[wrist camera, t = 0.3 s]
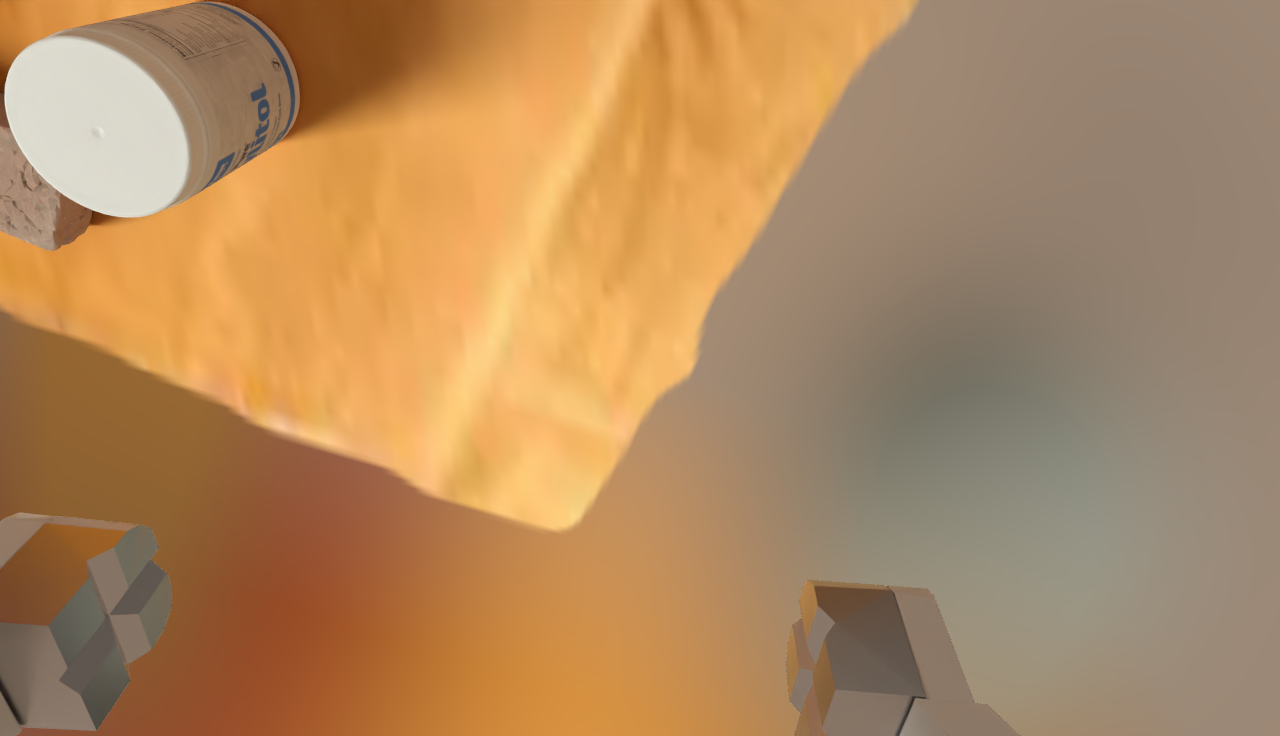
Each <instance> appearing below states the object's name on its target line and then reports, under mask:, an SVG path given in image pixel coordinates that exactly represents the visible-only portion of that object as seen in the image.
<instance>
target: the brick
mask: <svg viewBox="0 0 1280 736" xmlns="http://www.w3.org/2000/svg"><path fill="white" fill-rule="evenodd" d="M92 211H93V210H91V209H89V208H86V207H84V206H82V205H80V204H78V203H76V202H75V201H73V200H71V199H70V198H68V197H66V196H65V195H63V194H62V193H61V192H59V191H58V190H57V189H55V188H54V187H53V186H52V185H51V184H49V183H48V182H47V181H46V180H45V179H44V178H43V177H42V176H41V175H40V174H39V173H38V172H37V171H36V169H35V168H34V167H33V166H32V165H31V164H30V162H29V161H28V159H27V158H26V156H25V155H24V154H23V152H22V150H21V149H20V147H19V145H18V143H17V141H16V139H15V137H14V135H13V133H12V131H11V128H10V125H9V122H8V118H7V114H6V109H5V93H2V92H0V231H2V232H5V233H7V234H8V235H10V236H14V237H16V238H18V239H21V240H23V241H26V242H28V243H31V244H33V245H36V246H38V247H41V248H43V249H45V250H51V251H55V250H57V249H59V248H60V247H61V245H66V244H70V243H71V242H73V241H74V240H75V239H76V238H77V237H78V236H79V235H81V234H83V233H85V231H86V229H87V228H88V226H89V224H90V221H91V217H92Z"/></svg>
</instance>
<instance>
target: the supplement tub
mask: <svg viewBox="0 0 1280 736" xmlns="http://www.w3.org/2000/svg"><path fill="white" fill-rule="evenodd" d="M299 105H300V89H299V82H298V77H297V73H296V70H295V67H294V64H293V62H292V60H291V57H290V55H289V53H288V51H287V50H286V48H285V47H284V45H283V44H282V42H281V41H280V40H279V39H278V37H277V36H276V35H275V34H274V33H273V32H272V31H271V30H270V29H269V28H268V27H267V26H266V25H265V24H264V23H263V22H261V21H260V20H259V19H257V18H256V17H255V16H253V15H251V14H250V13H248V12H246V11H244V10H242V9H240V8H237V7H235V6H232V5H229V4H225V3H221V2H213V1H204V2H195V3H190V4H185V5H181V6H176V7H171V8H167V9H162V10H157V11H152V12H147V13H142V14H137V15H132V16H128V17H123V18H118V19H113V20H109V21H104V22H99V23H94V24H89V25H85V26H81V27H77V28H72V29H67V30H63V31H60V32H57V33H54V34H52V35H50V36H48V37H47V38H44V39H41V40H39V41H36V42H34V43H33V44H31V45H29V46H28V47H26V48H25V49H24V50H23V51H22V52H21V53H20V54H19V55H18V56H17V58H16V59H15V60H14V62H13V64H12V66H11V67H10V69H9V72H8V75H7V79H6V83H5V109H6V114H7V118H8V122H9V125H10V128H11V131H12V133H13V135H14V137H15V139H16V141H17V143H18V145H19V147H20V149H21V150H22V152H23V154H24V155H25V156H26V158H27V159H28V161H29V162H30V164H31V165H32V166H33V167H34V168H35V169H36V171H37V172H38V173H39V174H40V175H41V176H42V177H43V178H44V179H45V180H46V181H47V182H48V183H49V184H51V185H52V186H53V187H54V188H55V189H57V190H58V191H59V192H61V193H62V194H63V195H65V196H66V197H68V198H70V199H71V200H73V201H75V202H76V203H78V204H80V205H82V206H84V207H86V208H89V209H91V210H93V211H96V212H100V213H103V214H107V215H111V216H116V217H142V216H148V215H152V214H155V213H158V212H160V211H162V210H164V209H167V208H170V207H172V206H175V205H178V204H180V203H182V202H184V201H186V200H187V199H189V198H191V197H192V196H194V195H196V194H197V193H199V192H201V191H202V190H204V189H205V188H207V187H209V186H210V185H212V184H213V183H215V182H217V181H218V180H220V179H222V178H223V177H225V176H226V175H228V174H229V173H231V172H233V171H234V170H236V169H237V168H239V167H241V166H242V165H244V164H245V163H247V162H248V161H250V160H252V159H253V158H255V157H256V156H258V155H260V154H261V153H263V152H265V151H266V150H268V149H269V148H271V147H272V146H274V145H275V144H276V143H278V142H279V141H281V140H282V139H283V138H284V137H285V136H286V135H287V134H288V132H289V131H290V129H291V128H292V126H293V125H294V122H295V120H296V117H297V115H298V111H299Z"/></svg>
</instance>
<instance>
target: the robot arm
mask: <svg viewBox="0 0 1280 736" xmlns="http://www.w3.org/2000/svg"><path fill="white" fill-rule="evenodd" d="M158 548H159V547H158V544H157V542H156V539H155V537H154V534H153V532H152V529H151V528H149V527H146V526H142V525H136V524H127V523H118V522H109V521H100V520H90V519H81V518H72V517H63V516H60V517H57V516H47V515H37V514H28V513H17V514H15V515H12V516H9V517H7V518H4V519H3V520H2V521H0V736H16V735H17V734H18V733H20V732H21V730H22V729H21V728H20V727H31V728H32V727H33V728H51V729H71V730H91V731H97V729H98V728H99V727H100V725H101V724H102V722H103V721H104V719H105V718H106V716H107V715H108V713H109V712H110V710H111V709H112V707H113V705H114V704H115V703H116V701H117V700H118V698H119V697H120V695H121V694H122V693H123V691H124V689H125V688H126V686H127V685H128V684H129V682H130V676H129V669H128V664H129V663H131V662H132V661H134V660H135V659H137V658H138V657H140V656H142V655H143V654H145V653H146V652H148V651H150V650H151V649H152V648H153V646H154V645H155V643H156V641H157V640H158V638H159V637H160V635H161V633H162V632H163V630H164V628H165V625H166V622H167V619H168V616H169V613H170V609H171V606H172V588H171V584H170V581H169V577H168V574H167V573H166V572H165V571H164V570H162V569H161V568H160V567H159V566H158V565H157V564H155V563H154V562H153V561H152V560H151V558H152V557H153V555H154V554H155V552H156V551H157V550H158ZM799 604H800V609H801V615H802V618H801V619H800V620H798V621H797V622H796V623H794V624H793V625H792V629H791V633H790V637H789V641H788V648H787V649H788V650H787V661H786V669H787V670H786V671H787V684H788V692H789V700H790V702H791V703H792V704H793V705H794V707H795V708H796V709H797V710H798V711H799V712H800V713H801V714H800V717H799V721H798V724H797V727H796V731H795V736H1020V735H1019V734H1018V733H1017V732H1016V731H1015V730H1014V729H1013V728H1012V727H1011V726H1010V725H1009V724H1008V723H1007V722H1005V721H1004V720H1003V719H1002V718H1001V717H1000V716H999V715H998V714H997V713H996V712H995V711H994V710H993V709H992V708H991V707H990V706H988V705H987V704H979V703H975V702H974V700H973V697H972V694H971V692H970V689H969V687H968V684H967V681H966V679H965V676H964V673H963V671H962V668H961V665H960V663H959V660H958V658H957V655H956V652H955V650H954V647H953V644H952V642H951V639H950V636H949V634H948V631H947V629H946V626H945V624H944V621H943V618H942V616H941V613H940V610H939V608H938V605H937V603H936V600H935V597H934V595H933V594H932V593H931V592H930V591H929V590H928V589H925V588H912V587H899V586H886V587H885V586H884V585H874V584H860V583H845V582H832V581H818V580H807V582H806V584H805V585H804V586H803V589H802V593H801V596H800V599H799Z"/></svg>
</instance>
